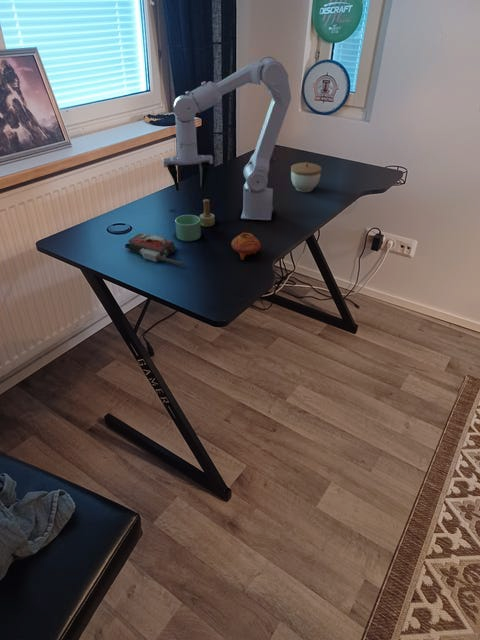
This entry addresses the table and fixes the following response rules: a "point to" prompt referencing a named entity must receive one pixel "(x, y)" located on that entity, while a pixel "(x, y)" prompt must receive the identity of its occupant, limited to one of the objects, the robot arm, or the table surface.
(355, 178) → the table surface
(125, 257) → the table surface
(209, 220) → the rubber stamp
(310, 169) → the trinket box
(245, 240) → the pot
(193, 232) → the bucket
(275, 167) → the table surface
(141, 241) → the red grey blocky piece
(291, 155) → the table surface
